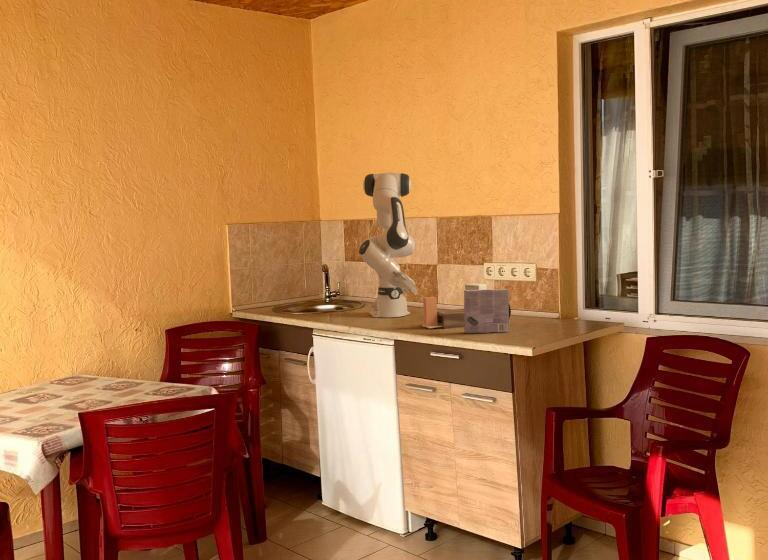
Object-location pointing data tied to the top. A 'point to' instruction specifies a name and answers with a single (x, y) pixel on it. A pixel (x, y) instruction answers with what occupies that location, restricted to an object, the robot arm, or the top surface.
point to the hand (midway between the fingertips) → (412, 292)
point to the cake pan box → (486, 311)
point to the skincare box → (475, 286)
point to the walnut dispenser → (451, 318)
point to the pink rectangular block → (430, 313)
